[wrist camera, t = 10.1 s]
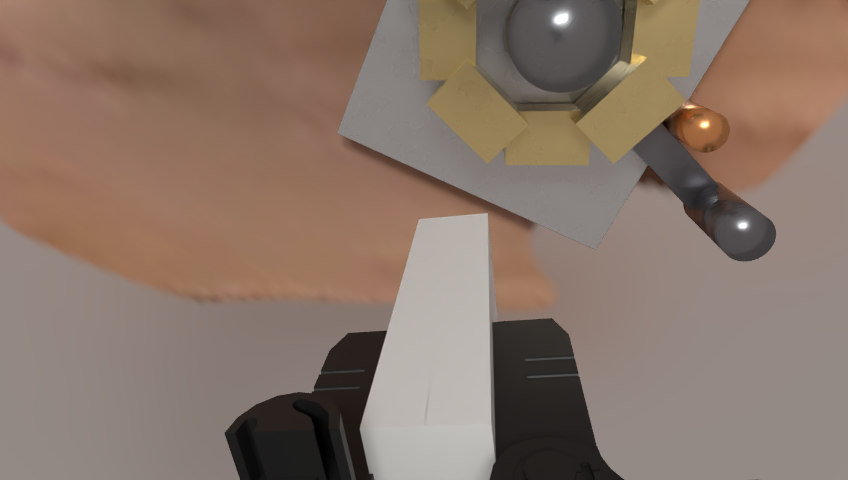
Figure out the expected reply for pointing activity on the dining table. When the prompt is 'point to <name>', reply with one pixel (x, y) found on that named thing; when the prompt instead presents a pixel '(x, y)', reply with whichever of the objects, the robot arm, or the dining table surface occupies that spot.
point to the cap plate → (526, 84)
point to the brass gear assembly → (591, 111)
